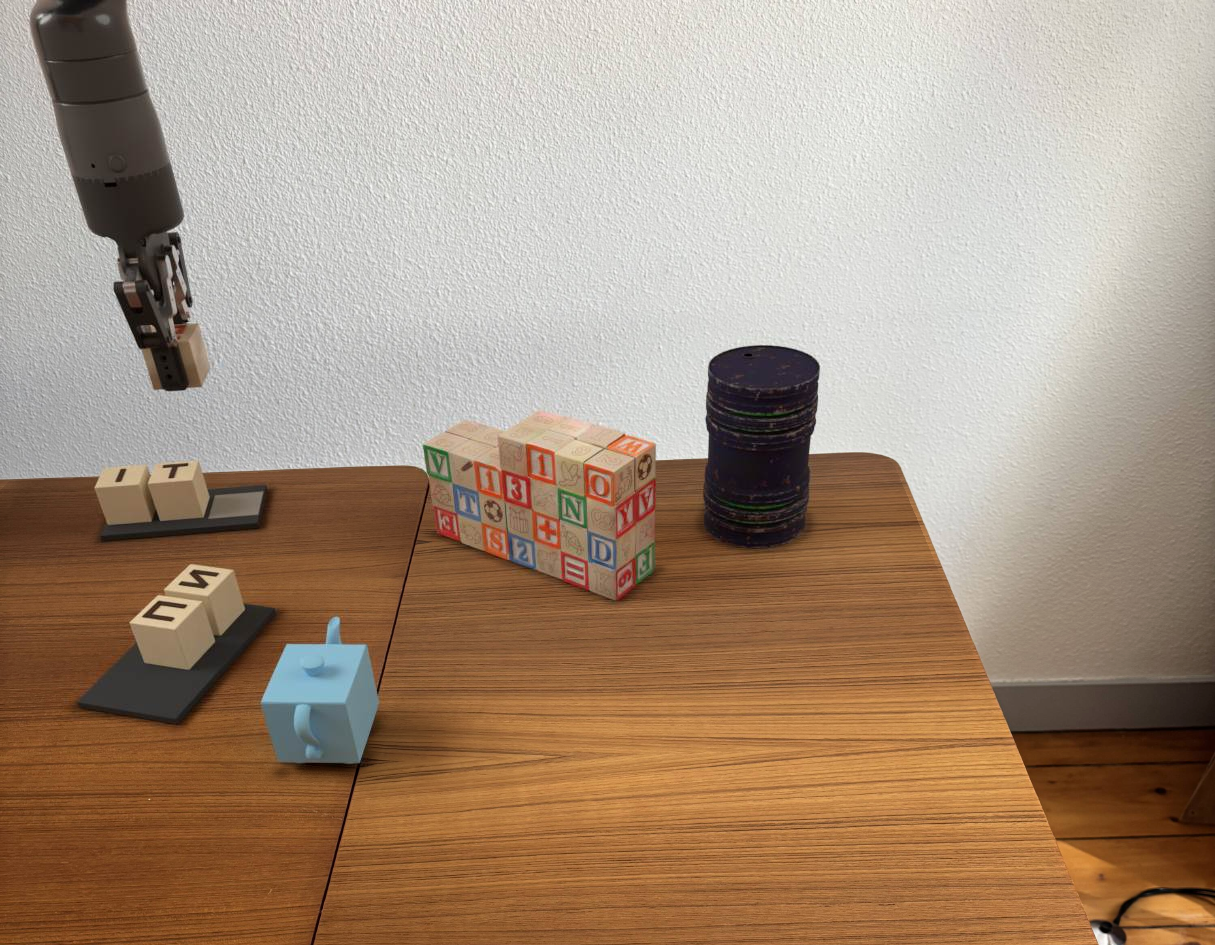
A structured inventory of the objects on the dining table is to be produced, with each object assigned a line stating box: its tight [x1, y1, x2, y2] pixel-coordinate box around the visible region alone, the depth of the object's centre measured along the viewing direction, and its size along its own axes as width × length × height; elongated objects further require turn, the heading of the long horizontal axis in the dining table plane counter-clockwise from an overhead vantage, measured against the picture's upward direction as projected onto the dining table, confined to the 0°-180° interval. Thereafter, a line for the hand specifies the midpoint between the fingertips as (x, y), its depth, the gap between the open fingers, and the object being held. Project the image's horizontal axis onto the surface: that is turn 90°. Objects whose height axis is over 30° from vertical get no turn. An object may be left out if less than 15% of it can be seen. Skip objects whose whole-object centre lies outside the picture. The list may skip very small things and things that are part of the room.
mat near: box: [76, 563, 277, 725], centre depth 93 cm, size 9×16×5 cm, turn 164°
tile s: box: [140, 322, 211, 391], centre depth 99 cm, size 4×4×4 cm
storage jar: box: [702, 344, 821, 549], centre depth 103 cm, size 10×10×15 cm
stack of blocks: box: [422, 409, 657, 601], centre depth 101 cm, size 21×6×12 cm, turn 54°
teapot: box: [259, 616, 380, 765], centre depth 84 cm, size 12×6×8 cm, turn 177°
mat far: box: [94, 460, 268, 542], centre depth 111 cm, size 15×8×5 cm, turn 96°
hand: (181, 377), depth 100 cm, fingers closed on tile s, 4 cm apart
